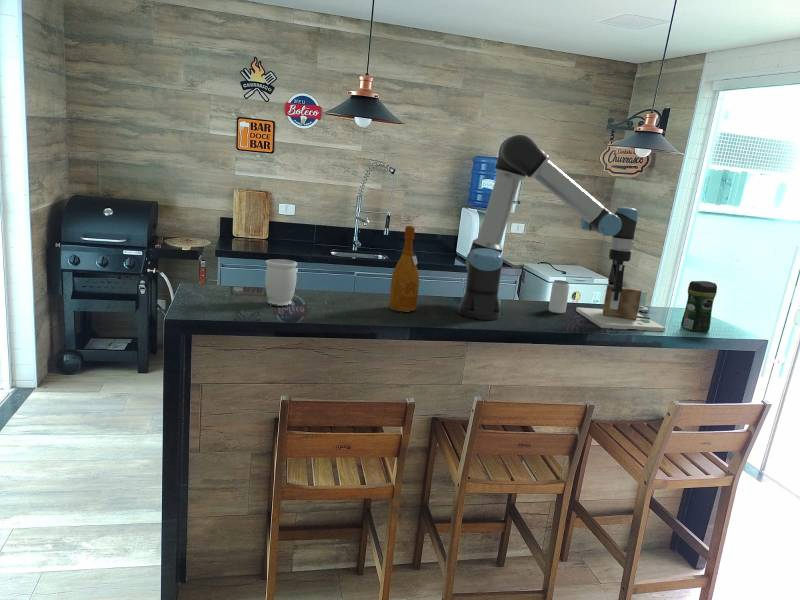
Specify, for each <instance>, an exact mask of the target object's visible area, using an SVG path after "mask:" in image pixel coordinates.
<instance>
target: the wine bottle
mask: <svg viewBox="0 0 800 600" xmlns="http://www.w3.org/2000/svg"><path fill="white" fill-rule="evenodd" d="M403 238H404V240H405V241H404V245H403V249H402V253H401V256H400V257H399V260H398V261H397V263H396V265H395V266H394V270H393V273H392V275H391V281H390V289H389V290H390V292H389V309H391V308H392V309H394V310H399V311H413V312H415V311H416V309H417V304H418V297H419V296H418V295H419V288H420V287H419V285H420V276H419V271H418V267H417V265H418V263H419V262H418V259H417V255H414V254H415V253H414V251H413V241H414V240H415V227H414V226H412V225H408V226H405V229H404V237H403ZM392 309H391V310H392ZM394 310H393V311H394ZM414 310H415V311H414Z"/></svg>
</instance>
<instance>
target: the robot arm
mask: <svg viewBox="0 0 800 600" xmlns="http://www.w3.org/2000/svg"><path fill="white" fill-rule="evenodd" d="M497 156H498V157H497V160H496V163H495V167H494V171H495V173H496V177H495V181H494V184H493V187H492V190H491V194H490V198H489V201H488V205H487V208H486V210H485V214H484V217H483V221H482V224H481V226H480V230H479V233H478V237H477V238H474V239H473V240H472V243H471V247H470V250H469V253H468V254H467V255H466V259H465V267H466V270H467V275H466V276H467V277H466V284H465V292H464V294H463V296H462V298H461V301H460V303H459V306H458V312H459V313H460V314H459V313H458V314H459V315H461V314H462V315H461V316H463V315H464V316H463V317H465V316H467V317H466V318H469V317H471V319H474V318H476V319H475V320H483V321H486V320H487V321H492V320H493V321H495V320H498V319H500V318H501V314H502V312H501V311H502V310H501V306H500V301H499V289H500V281H501V273H502V267H503V263H504V262H503V254H502V253H503V247H502V245H501V243H502V239H503V235H504V233H505V230H506V227H507V223H508V220H509V217H510V214H511V210H512V208H513V204H514V202H515V198H516V194H517V192H518V188H519V185H520V182H521V181H522V180H524V179H526V176H527V178H530V179H531V178H534V179H535V180H536V181H537V182H538V183H539V184H541V185H542V186H543V187H544V188H545V189H546V190H548V191H549V192H551V193H552V194H553V195H554V196H555V197H556V198H558V199H559V200H560V201H561V202H562V203H563V204H565V205H566V206H567V207H569V208H570V209H571V210H572V211H573V212H575V213H576V214H577V215H579V216H580V217H581V219H580V228H581V229H582V230H584V231H589V232H590V231H592V232H597V233H598V234H601V235H602V236H605V237H611V242H610V249H609V253H608V254H609V255H608V258H609V259H610V260H611V261H612V263H611V267H610V272H609V276H608V279H607V281H608V284H607V285H609V286H614V289H612V290H611V291H612V297H611V303H610V309H616V310H618V304H619V298H620V293H621V292H622V287H623V283H624V274H625V273H624V272H625V268H626V266H625V265H624V262H626V263H627V262H630V261H631V257H632V256H631V255H632V249H633V245H635V241H634V239H635V234H636V229H637V223H638V216H639V211H638V209H637V208H633V207H626V206H625V207H624V206H619V207H617V208H616V210H615V211H611V210H609V209H607V208H606V207H605V206H604V205H603V204H602V203H600V201H598V200H597V199H596V198H595V197H594V196H592V195H591V194H590V193H589V192H588V191H586V189H584V188H582V186H580V184H578V183H577V182H576V181H575V180H573V179H572V178H571V177H570V176H568V175H567V174H566V173H565V172H564V171H563V170H561V169H560V168H559V167H558V166H557V165H555V164H554V163H553V162H552V161H551V160H549V155H548V154H547V153H546V152H545V151H544V150H543V149H542V148H541V147H540V146H539V145H538V144H537V143H536V141H534V140H533V139H532V138H531V137H529V136H528V135H524V134H517V135H516V134H515V135H512V136H510V137H508V138H506V139H504V141H503V142H502V143H501V144H500V147H499V149H498V154H497Z"/></svg>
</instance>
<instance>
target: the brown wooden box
mask: <svg viewBox="0 0 800 600" xmlns="http://www.w3.org/2000/svg"><path fill="white" fill-rule="evenodd" d="M609 285H610V284H609ZM609 285H608V284H607V285H606V289H605V296H604V302H603V307H602V309H603V315H607V316H614V317H621V318H628V319H635V320H636V319H637V318H642V319H649V320H651V317H647V316H644V317H642V316H643V315H642V316H637V314H638V308H639V303H640V297H641V292H642V291H643V290H642V289H639V288H630V287H624V286H622V292H621V293H620V298H619V304H618V310H616V309H610V303H611V297H612V291H611V290H612V289H614V286H609Z"/></svg>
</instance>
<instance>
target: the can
mask: <svg viewBox="0 0 800 600" xmlns="http://www.w3.org/2000/svg"><path fill="white" fill-rule="evenodd" d="M569 283H570V282H569V281H566V280H562V279H561V280H560V279H555V280H553V282H552V284H551V291H550V297H549V304H548V305H549V306H548V311H549V312H550V313H553V314H565V313H566V311H567V304H568V299H569V291H570V284H569Z"/></svg>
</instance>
